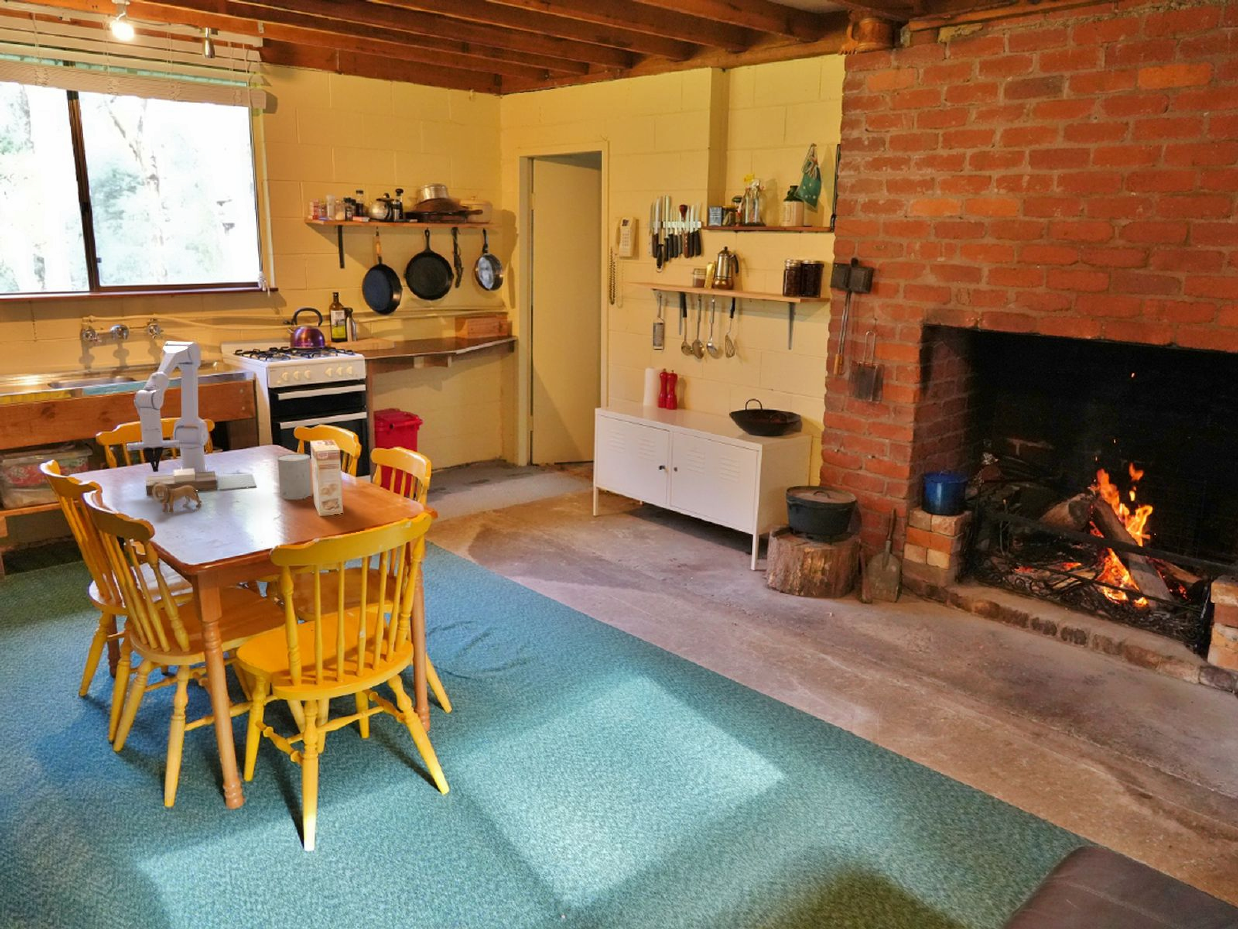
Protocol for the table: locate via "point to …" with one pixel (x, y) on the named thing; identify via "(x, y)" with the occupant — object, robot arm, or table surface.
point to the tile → (184, 475)
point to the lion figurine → (174, 495)
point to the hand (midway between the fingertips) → (155, 471)
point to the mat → (235, 482)
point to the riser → (200, 483)
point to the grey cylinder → (294, 476)
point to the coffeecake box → (326, 477)
